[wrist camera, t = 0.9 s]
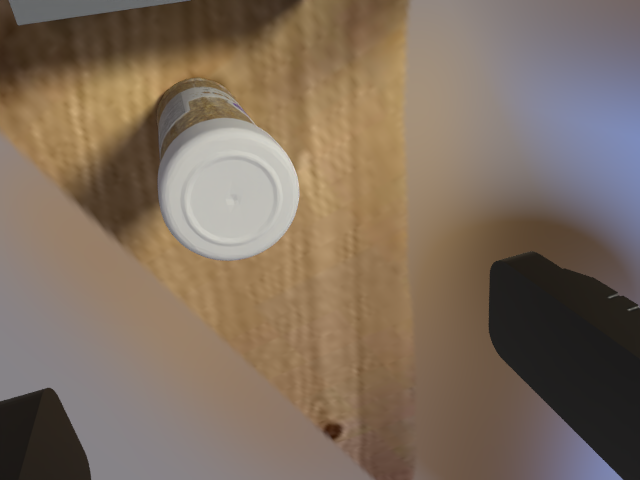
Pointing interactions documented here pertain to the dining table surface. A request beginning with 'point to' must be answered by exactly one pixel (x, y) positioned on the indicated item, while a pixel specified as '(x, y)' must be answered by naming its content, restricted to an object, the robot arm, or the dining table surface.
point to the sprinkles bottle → (221, 174)
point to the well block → (73, 8)
